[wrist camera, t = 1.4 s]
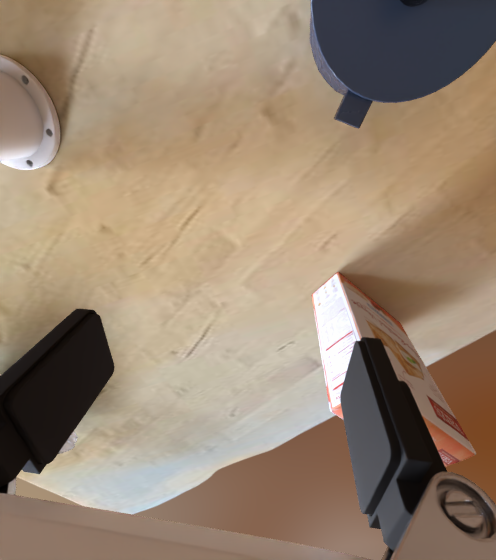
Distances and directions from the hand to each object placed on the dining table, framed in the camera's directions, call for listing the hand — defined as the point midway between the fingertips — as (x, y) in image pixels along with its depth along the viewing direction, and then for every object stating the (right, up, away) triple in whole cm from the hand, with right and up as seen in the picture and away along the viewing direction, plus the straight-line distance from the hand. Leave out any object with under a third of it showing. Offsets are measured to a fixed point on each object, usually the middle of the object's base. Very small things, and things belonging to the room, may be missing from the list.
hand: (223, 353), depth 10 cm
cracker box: (+18, -1, +34) cm, 38 cm away
